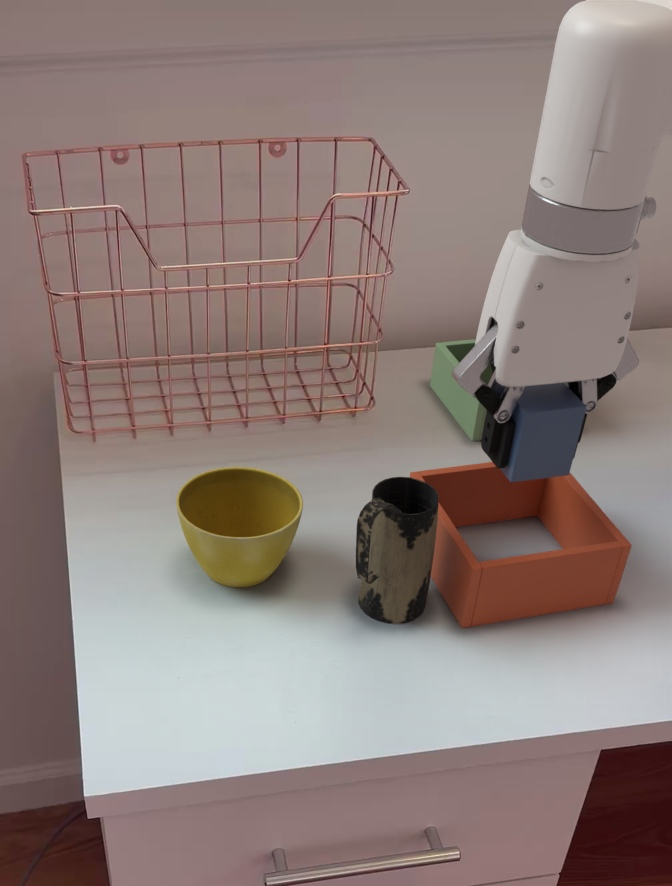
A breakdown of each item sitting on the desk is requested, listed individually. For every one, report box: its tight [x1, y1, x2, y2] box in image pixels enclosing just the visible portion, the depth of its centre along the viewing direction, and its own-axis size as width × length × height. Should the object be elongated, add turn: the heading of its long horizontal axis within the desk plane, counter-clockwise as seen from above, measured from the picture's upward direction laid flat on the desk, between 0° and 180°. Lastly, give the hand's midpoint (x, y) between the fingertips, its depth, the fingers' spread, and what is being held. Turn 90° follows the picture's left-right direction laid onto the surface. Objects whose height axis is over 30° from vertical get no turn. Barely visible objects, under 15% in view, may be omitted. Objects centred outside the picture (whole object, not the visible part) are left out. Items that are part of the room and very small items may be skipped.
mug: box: [355, 476, 439, 625], centre depth 79 cm, size 8×6×12 cm
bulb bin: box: [429, 338, 566, 442], centre depth 107 cm, size 12×12×6 cm
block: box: [500, 383, 586, 482], centre depth 79 cm, size 5×5×6 cm
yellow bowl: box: [175, 466, 304, 588], centre depth 84 cm, size 10×10×7 cm
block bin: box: [409, 461, 632, 629], centre depth 86 cm, size 14×14×7 cm
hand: (528, 452), depth 80 cm, fingers closed on block, 5 cm apart
